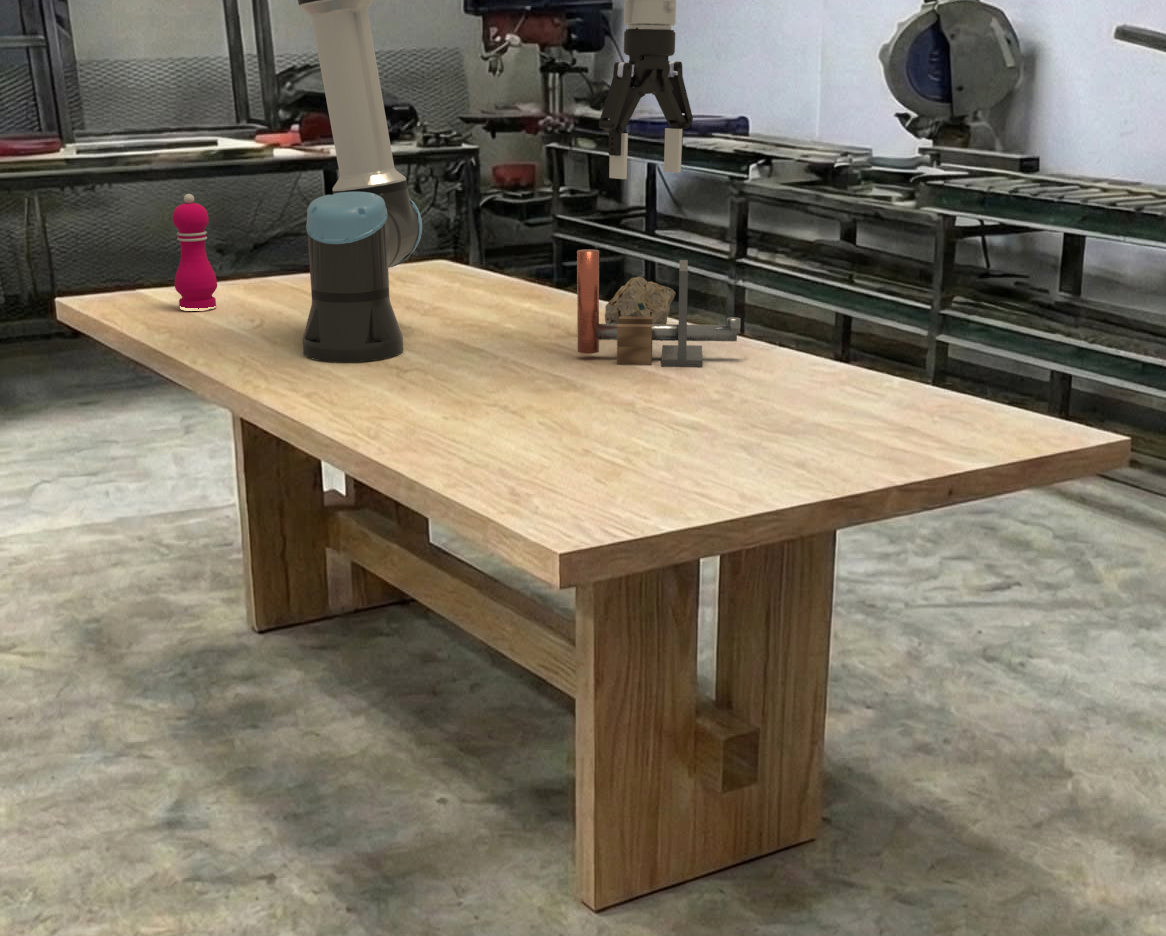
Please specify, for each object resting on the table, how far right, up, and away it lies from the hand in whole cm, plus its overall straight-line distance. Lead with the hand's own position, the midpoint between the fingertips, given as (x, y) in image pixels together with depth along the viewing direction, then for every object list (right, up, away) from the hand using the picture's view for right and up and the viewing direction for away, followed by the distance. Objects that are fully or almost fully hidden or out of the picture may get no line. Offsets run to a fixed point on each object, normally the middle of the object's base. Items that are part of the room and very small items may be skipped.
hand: (645, 175), depth 217 cm
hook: (+2, -27, -2) cm, 27 cm away
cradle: (-2, -28, -2) cm, 28 cm away
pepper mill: (-77, -16, +37) cm, 87 cm away
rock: (+1, -22, +17) cm, 28 cm away
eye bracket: (+5, -28, -2) cm, 28 cm away
